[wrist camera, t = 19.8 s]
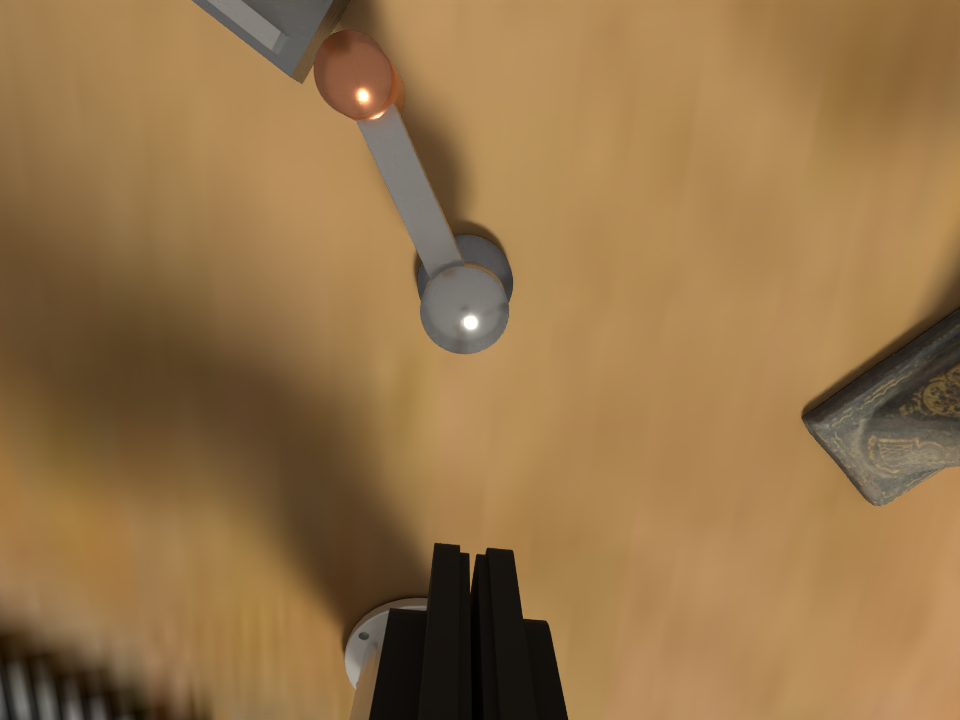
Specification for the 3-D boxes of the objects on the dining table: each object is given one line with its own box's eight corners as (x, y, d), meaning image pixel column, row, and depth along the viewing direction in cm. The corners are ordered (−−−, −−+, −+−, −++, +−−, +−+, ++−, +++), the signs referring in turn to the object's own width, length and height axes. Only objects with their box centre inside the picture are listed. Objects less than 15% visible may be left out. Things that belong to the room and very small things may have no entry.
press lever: (401, 41, 24) (384, 7, 19) (515, 316, 28) (525, 343, 24) (319, 82, 24) (284, 59, 20) (445, 345, 29) (441, 377, 24)
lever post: (530, 272, 32) (543, 290, 27) (474, 343, 33) (475, 373, 28) (455, 213, 31) (452, 220, 25) (400, 291, 32) (387, 312, 27)
